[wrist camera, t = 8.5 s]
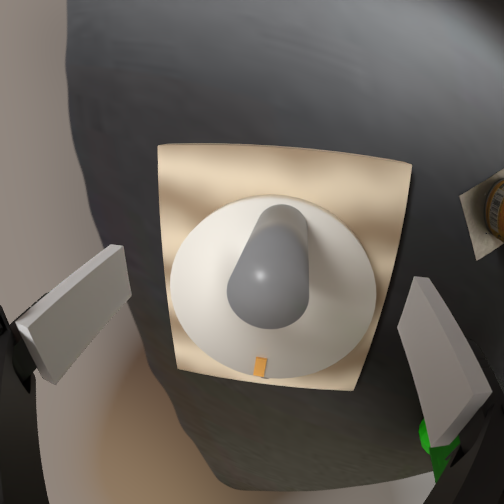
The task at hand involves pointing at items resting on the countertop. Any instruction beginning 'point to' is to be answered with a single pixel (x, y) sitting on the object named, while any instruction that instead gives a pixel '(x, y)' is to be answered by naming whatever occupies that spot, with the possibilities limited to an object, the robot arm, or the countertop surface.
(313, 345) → the dial
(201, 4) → the countertop surface
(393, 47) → the countertop surface
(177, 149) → the dial panel
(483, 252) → the condiment
